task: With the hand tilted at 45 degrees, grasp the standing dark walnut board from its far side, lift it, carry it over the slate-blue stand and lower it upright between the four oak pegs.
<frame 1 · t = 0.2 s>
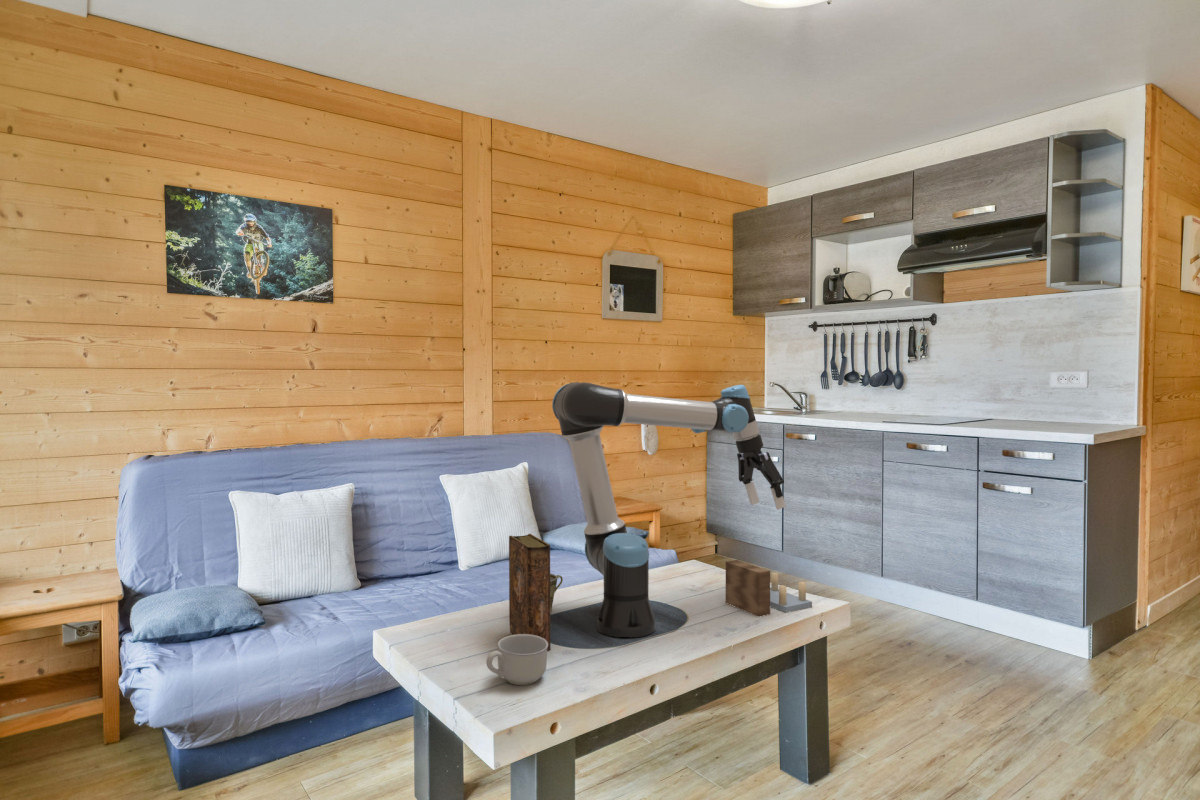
hand: (767, 505, 204), 27 cm above the table, tool tilted 15°, fingers open, 13 cm apart
cradle: (778, 602, 200), on the table
ceramic cup: (543, 612, 192), on the table
teacup: (516, 682, 147), on the table
board: (747, 608, 194), on the table
book: (530, 642, 170), on the table
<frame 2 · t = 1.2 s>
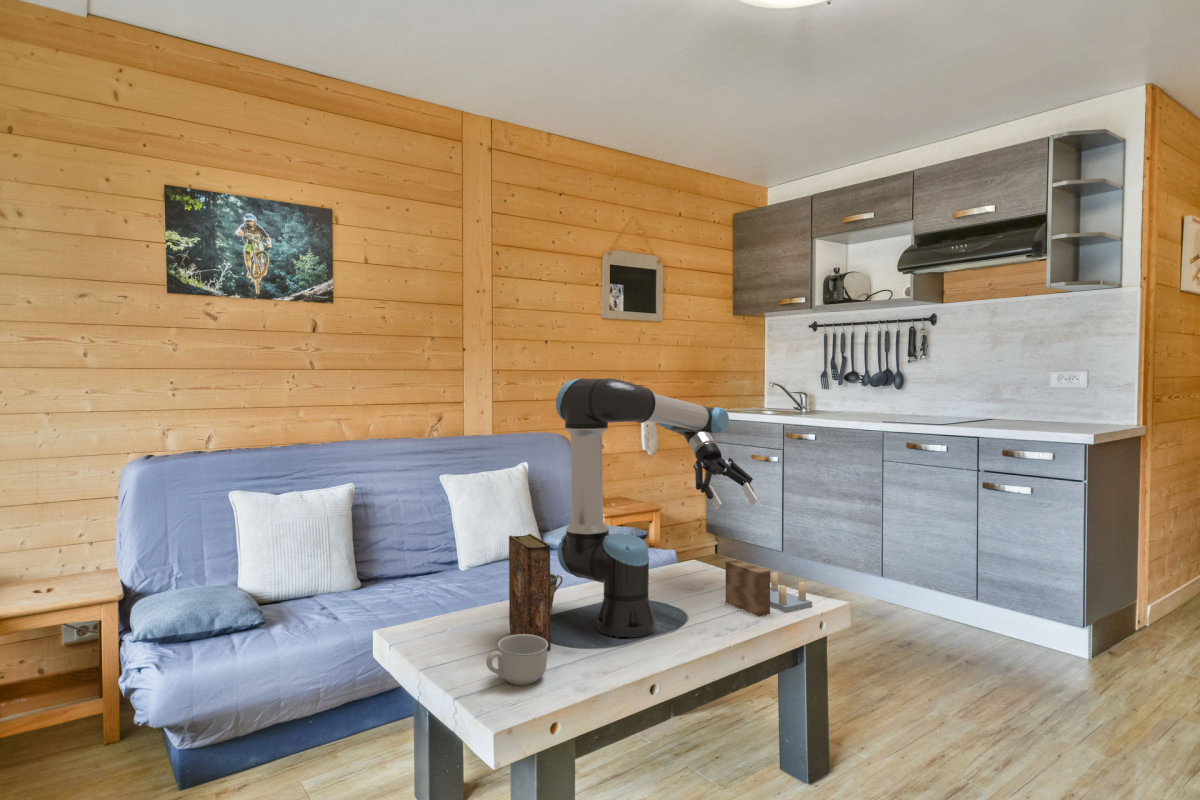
hand: (737, 504, 203), 28 cm above the table, tool tilted 45°, fingers open, 13 cm apart
nothing on the table moved.
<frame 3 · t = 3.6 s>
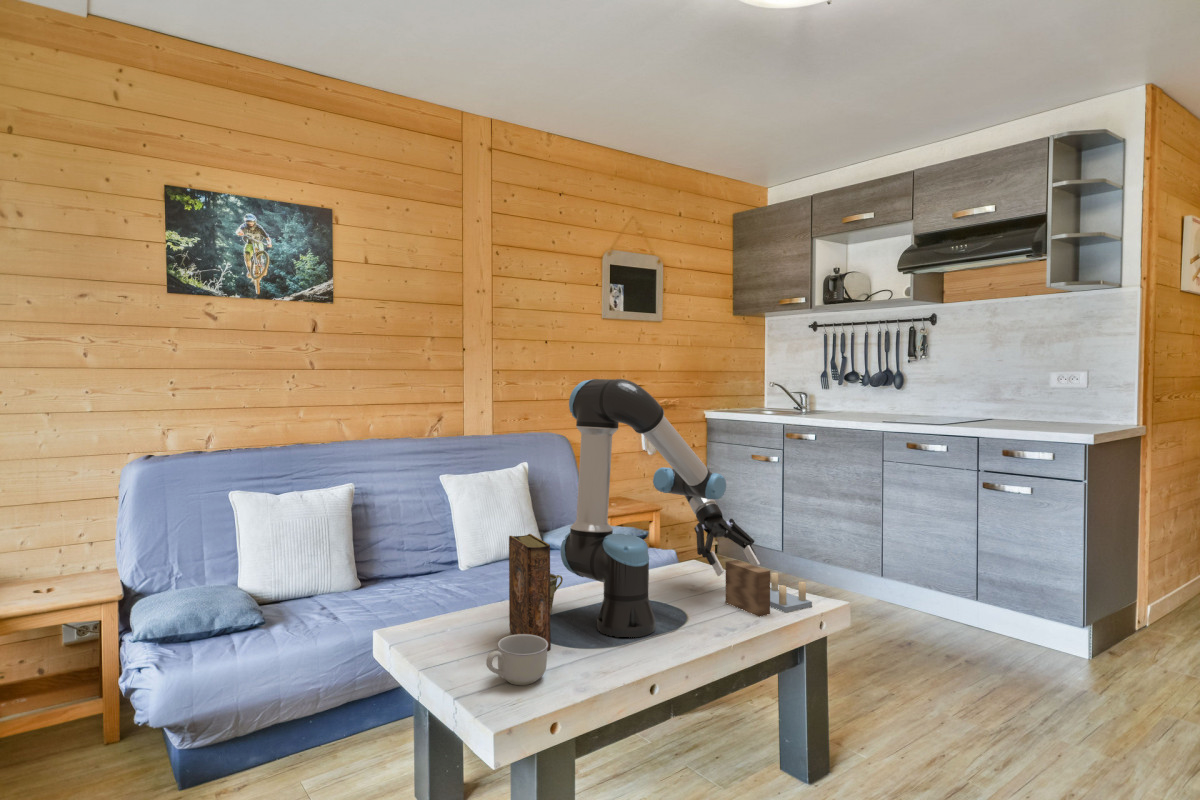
hand: (739, 570, 200), 9 cm above the table, tool tilted 45°, fingers open, 13 cm apart
nothing on the table moved.
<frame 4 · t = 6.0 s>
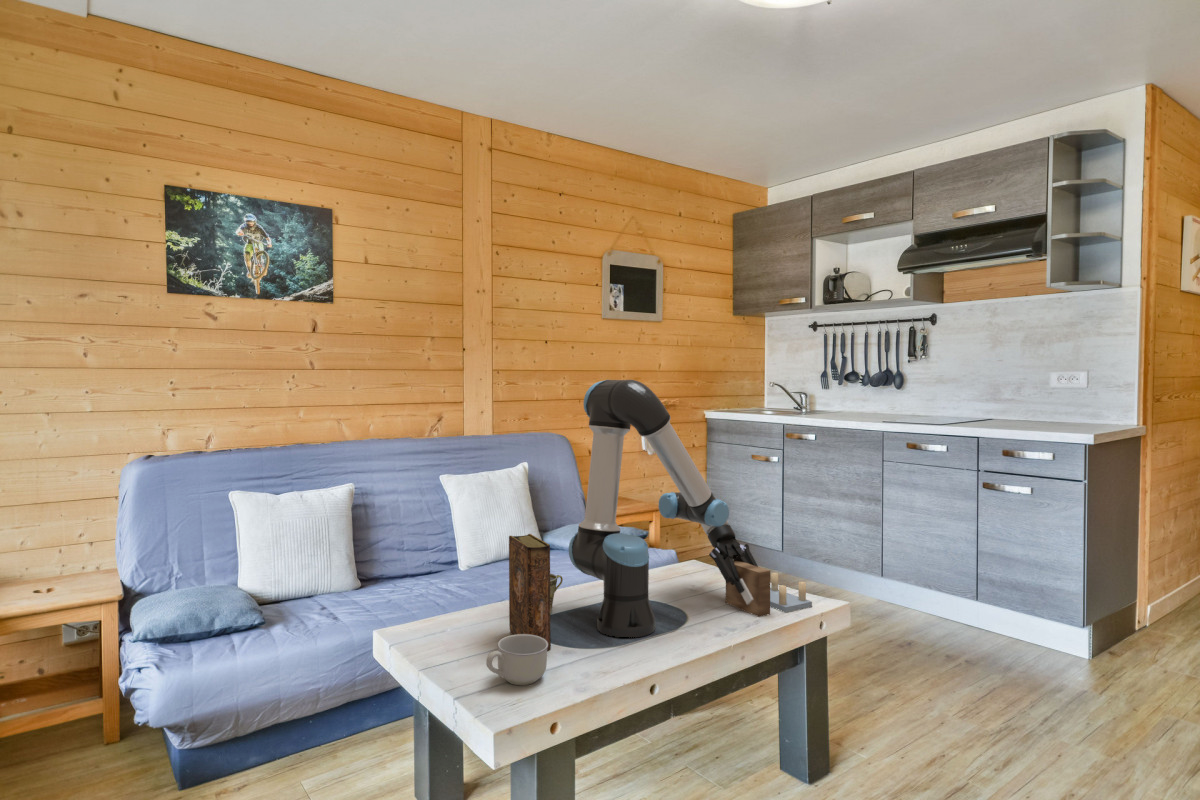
hand: (756, 600, 191), 3 cm above the table, tool tilted 45°, fingers closed on board, 4 cm apart
board: (747, 608, 194), on the table, touching gripper
everything else where it was.
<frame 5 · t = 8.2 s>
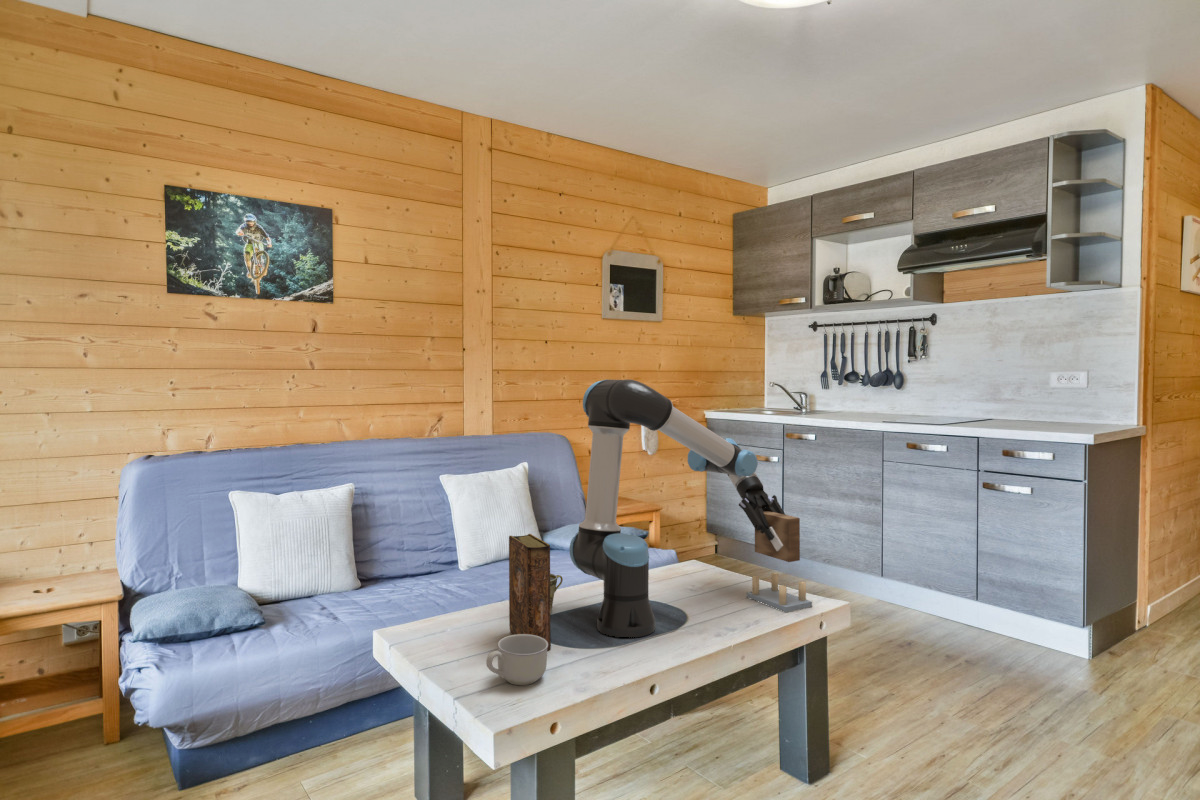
hand: (786, 547, 196), 17 cm above the table, tool tilted 45°, fingers closed on board, 4 cm apart
board: (776, 556, 200), point 13 cm above the table, touching gripper
everything else where it was.
when the fingers open (6 cm above the table, at t = 10.4 s): board drops 1 cm, resting on cradle.
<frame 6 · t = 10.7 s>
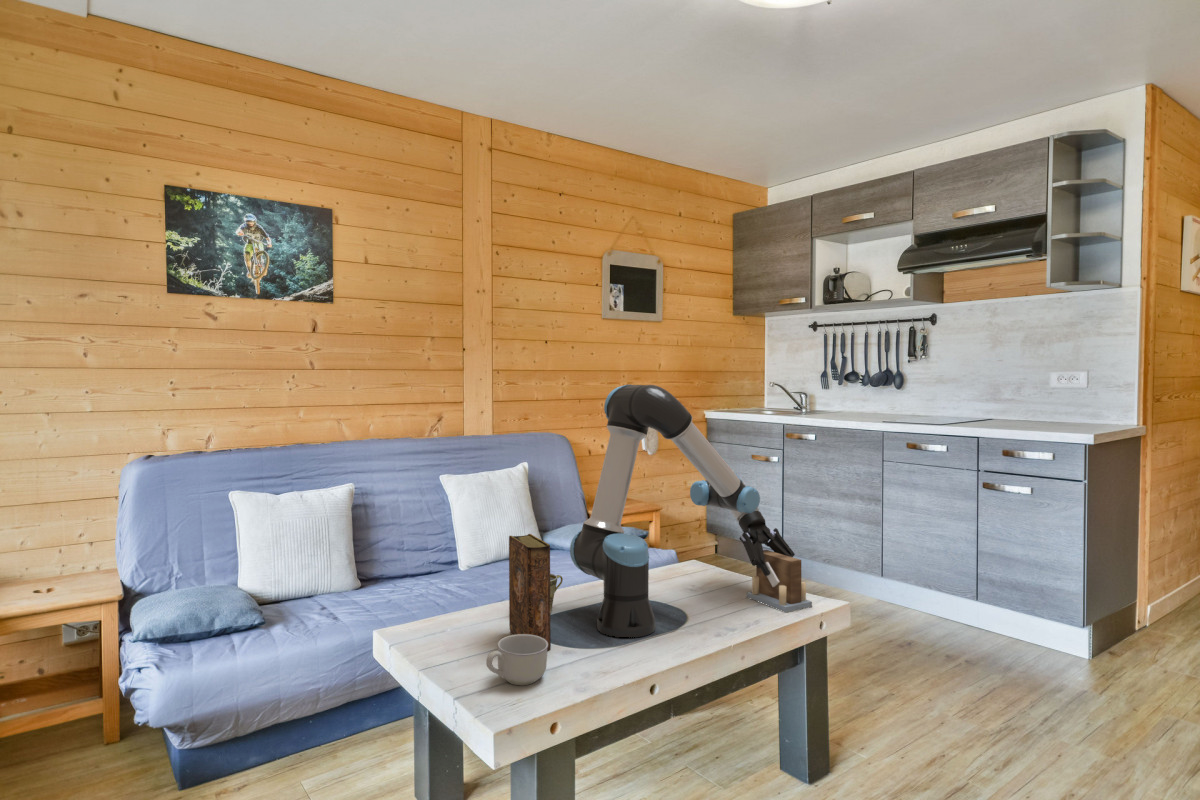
hand: (787, 582, 197), 7 cm above the table, tool tilted 45°, fingers open, 8 cm apart
board: (778, 596, 200), point 1 cm above the table, touching cradle
everything else where it was.
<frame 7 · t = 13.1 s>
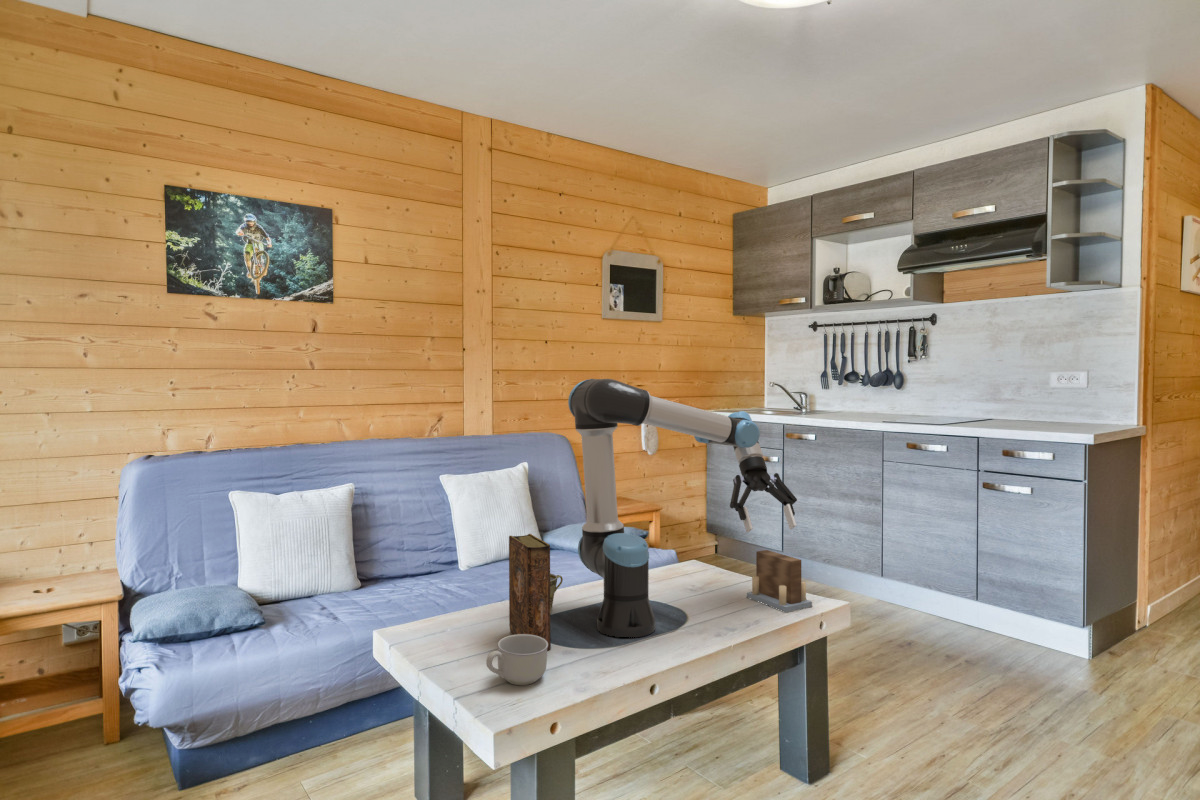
hand: (771, 529, 192), 23 cm above the table, tool tilted 35°, fingers open, 13 cm apart
nothing on the table moved.
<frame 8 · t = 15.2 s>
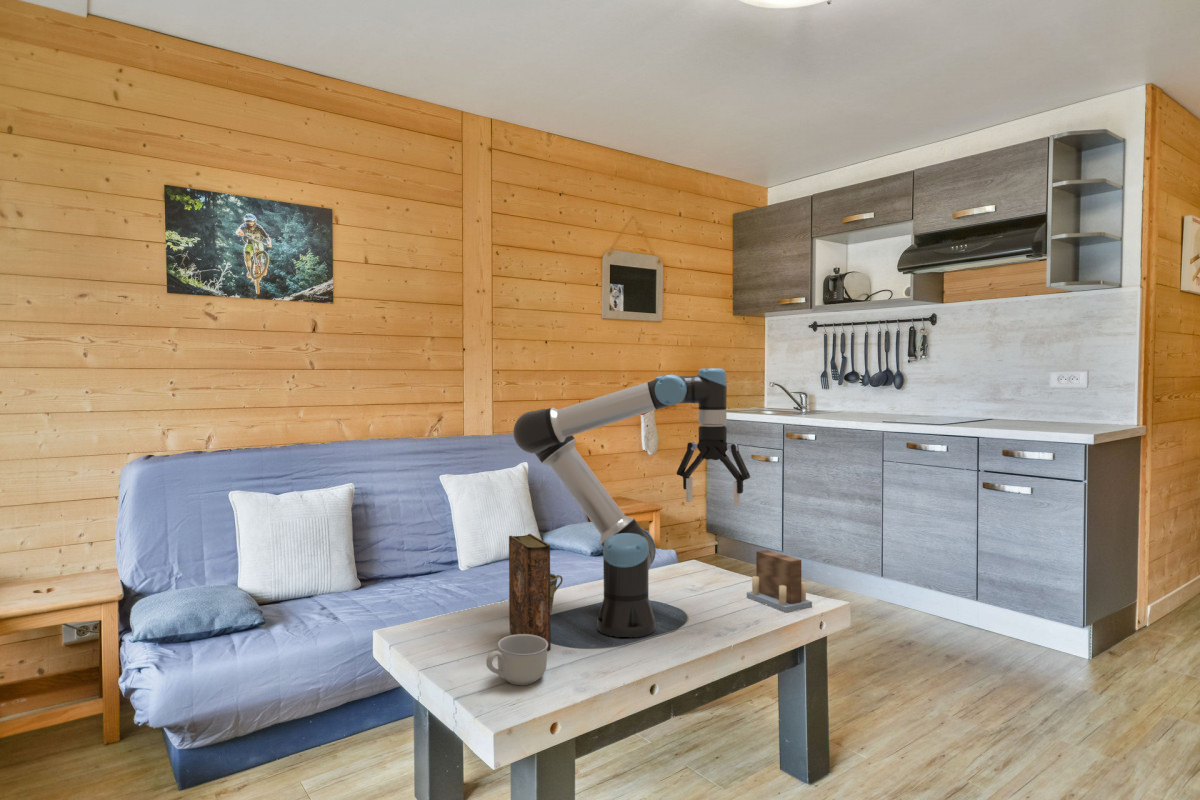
hand: (712, 503, 187), 31 cm above the table, tool pointing down, fingers open, 13 cm apart
nothing on the table moved.
at the end: board inside the target area on the cradle (0.1 cm from its centre), point 1.5 cm above the cradle's base; board tilted 0°; board touching cradle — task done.
